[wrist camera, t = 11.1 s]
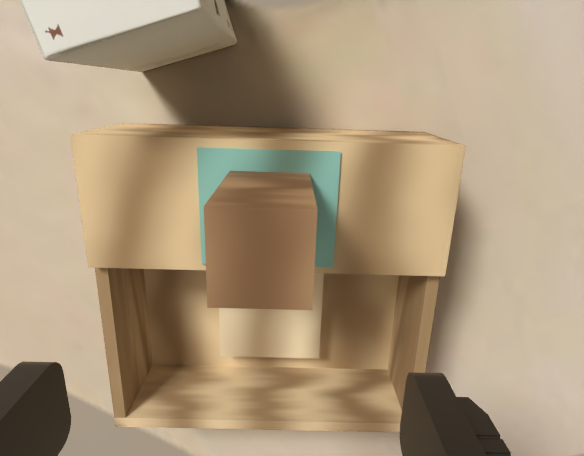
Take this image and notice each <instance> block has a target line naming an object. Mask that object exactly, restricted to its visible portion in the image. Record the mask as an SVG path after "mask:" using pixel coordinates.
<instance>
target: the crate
mask: <svg viewBox="0 0 584 456" xmlns="http://www.w3.org/2000/svg"><path fill="white" fill-rule="evenodd" d="M70 136H71V144H72V151H73V158H74V166H75V173H76V180H77V188H78V195H79V202H80V210H81V217H82V225H83V232H84V239H85V247H86V254H87V261H88V267H93V268H95V273H96V280H97V288H98V296H99V303H100V311H101V319H102V326H103V334H104V342H105V349H106V357H107V365H108V372H109V380H110V388H111V395H112V403H113V411H114V418H115V426H117V427H165V428H213V429H262V430H310V431H358V432H400V422H401V414H402V407H403V399H404V392H405V384H406V378H407V375H408V373H410V372H416V373H425V370H426V363H427V357H428V350H429V344H430V338H431V331H432V325H433V318H434V312H435V305H436V299H437V292H438V286H439V279H440V276H445V274H446V268H447V262H448V255H449V249H450V243H451V236H452V230H453V224H454V218H455V211H456V205H457V199H458V192H459V186H460V180H461V173H462V167H463V161H464V155H465V148H466V146H464V145H461V144H458V143H455V142H452V141H449V140H446V139H443V138H440V137H437V136H434V135H431V134H428V133H425V132H404V131H370V130H336V129H302V128H268V127H234V126H200V125H166V124H132V123H122V124H118V125H113V126H108V127H104V128H99V129H94V130H89V131H85V132H80V133H75V134H71V135H70ZM229 171H256V172H291V173H310V178H311V182H312V187H313V191H314V196H315V200H316V205H317V229H316V249H315V268H314V288H313V308H312V310H282V309H242V308H207V282H206V256H205V230H204V205H205V204H206V202H207V201H208V200H209V198H210V197H211V196H212V194H213V193H214V192H215V190H216V189H217V187H218V186H219V185H220V183H221V182H222V181H223V179H224V178H225V177H226V175H227V174H228V172H229Z"/></svg>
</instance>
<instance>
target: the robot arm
mask: <svg viewBox="0 0 584 456" xmlns="http://www.w3.org/2000/svg"><path fill="white" fill-rule="evenodd" d="M70 425H71V414H70V408H69V403H68V397H67V391H66V385H65V379H64V374H63V369H62V367H61V365H60V364H59V363H57V362H21V363H19V364H18V365H17V366H16V367H15V368H14V369H13V370H12V371H11V372H10V373H9V374H8V375H7V376H6V377H5V378H4V379H3V380H2V381H1V382H0V456H58V454H59V453H60V451H61V449H62V448H63V446H64V444H65V442H66V440H67V438H68V434H69V431H70ZM400 444H401V450H402V455H403V456H511V455H510V451H509V449H508V448H507V446H506V444H505V443H504V441H503V440H502V439H500V434H499V433H498V431H497V429H496V428H495V426H494V424H493V423H492V421H491V419H490V418H489V416H488V414H486V413H485V412H484V411H483V410H482V409H481V408H480V407H479V406H477V405H476V404H475V403H474V402H473V401H472V400H471V399H470V398H469V397H456V396H455V394H454V392H453V390H452V388H451V386H450V384H449V383H448V381H447V379H446V377H445V376H444V374H442V373H416V372H410V373H408V375H407V378H406V384H405V392H404V399H403V407H402V414H401V422H400Z"/></svg>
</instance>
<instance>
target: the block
mask: <svg viewBox="0 0 584 456" xmlns="http://www.w3.org/2000/svg"><path fill="white" fill-rule="evenodd" d="M316 229H317V205H316V200H315V196H314V191H313V187H312V182H311V178H310V173H291V172H256V171H229V172H228V174H227V175H226V177H225V178H224V179H223V181H222V182H221V183H220V185H219V186H218V187H217V189H216V190H215V192H214V193H213V194H212V196H211V197H210V198H209V200H208V201H207V202H206V204H205V205H204V230H205V256H206V282H207V308H242V309H282V310H312V308H313V288H314V268H315V249H316Z"/></svg>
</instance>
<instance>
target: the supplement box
mask: <svg viewBox="0 0 584 456" xmlns="http://www.w3.org/2000/svg"><path fill="white" fill-rule="evenodd" d="M19 1H20V3H21V6H22V8H23V10H24V13H25V15H26V17H27V20H28V22H29V24H30V27H31V29H32V32H33V34H34V36H35V39H36V41H37V43H38V46H39V48H40V51H41V54H42V56H43V58H44V59H45V60H49V61H57V62H66V63H74V64H82V65H90V66H98V67H106V68H114V69H122V70H130V71H138V72H143V71H147V70H150V69H153V68H157V67H160V66H164V65H167V64H171V63H174V62H178V61H181V60H185V59H188V58H191V57H195V56H198V55H202V54H205V53H208V52H212V51H215V50H219V49H222V48H225V47H228V46H231V45H235V44H236V43H237V39H236V36H235V33H234V30H233V27H232V24H231V21H230V18H229V14H228V11H227V8H226V5H225V1H224V0H19Z"/></svg>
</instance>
